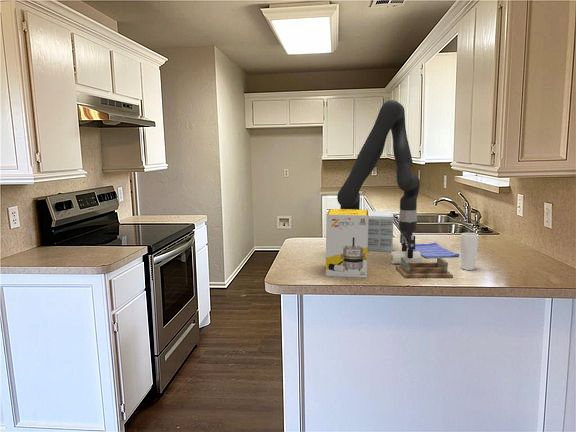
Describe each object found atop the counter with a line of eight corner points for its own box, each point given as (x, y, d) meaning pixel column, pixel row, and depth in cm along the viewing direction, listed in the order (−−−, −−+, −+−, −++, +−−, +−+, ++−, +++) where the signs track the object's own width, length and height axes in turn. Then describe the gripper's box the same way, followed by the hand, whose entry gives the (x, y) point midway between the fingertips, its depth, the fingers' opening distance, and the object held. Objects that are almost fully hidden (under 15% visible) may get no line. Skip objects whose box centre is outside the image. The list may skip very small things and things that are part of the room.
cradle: (404, 278, 164) (405, 264, 164) (395, 268, 178) (396, 255, 177) (452, 278, 165) (453, 264, 164) (439, 268, 178) (440, 255, 178)
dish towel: (436, 247, 220) (436, 242, 220) (460, 258, 197) (461, 252, 196) (405, 248, 218) (405, 243, 217) (426, 259, 194) (426, 254, 194)
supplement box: (366, 243, 227) (367, 210, 224) (391, 244, 224) (392, 211, 221) (365, 251, 210) (366, 215, 207) (392, 252, 207) (394, 216, 204)
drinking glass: (475, 271, 173) (477, 236, 171) (457, 269, 176) (460, 234, 174) (477, 268, 179) (480, 233, 176) (460, 265, 182) (462, 232, 180)
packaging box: (325, 276, 168) (326, 214, 164) (328, 265, 184) (329, 209, 180) (366, 278, 165) (368, 215, 161) (366, 266, 181) (367, 209, 177)
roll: (392, 264, 183) (393, 252, 183) (389, 262, 189) (389, 250, 189) (421, 264, 184) (421, 252, 183) (417, 262, 189) (417, 250, 189)
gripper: (395, 217, 190) (394, 252, 193) (404, 222, 176) (403, 260, 179) (411, 217, 191) (410, 251, 193) (421, 222, 177) (420, 259, 179)
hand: (407, 255), depth 186 cm, fingers open, 8 cm apart
